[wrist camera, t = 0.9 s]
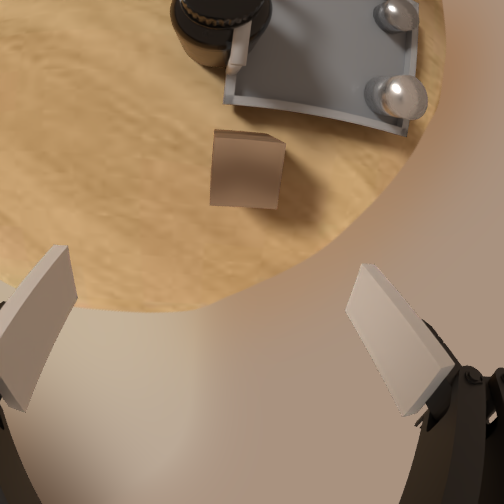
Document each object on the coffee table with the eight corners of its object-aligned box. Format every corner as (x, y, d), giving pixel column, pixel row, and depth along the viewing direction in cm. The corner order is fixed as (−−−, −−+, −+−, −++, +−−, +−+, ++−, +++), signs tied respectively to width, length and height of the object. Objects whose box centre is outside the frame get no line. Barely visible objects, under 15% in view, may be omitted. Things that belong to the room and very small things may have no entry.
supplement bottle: (266, 54, 23) (304, 21, 12) (197, 79, 23) (185, 58, 13) (240, -4, 19) (259, -64, 9) (171, 20, 20) (144, -30, 9)
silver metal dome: (373, -1, 18) (388, -9, 16) (402, 11, 19) (419, 6, 16) (372, 27, 20) (387, 21, 17) (401, 39, 21) (418, 35, 18)
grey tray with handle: (240, -36, 18) (254, -89, 8) (401, 8, 20) (462, -9, 11) (221, 104, 25) (225, 101, 16) (389, 132, 28) (453, 151, 19)
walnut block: (214, 129, 26) (214, 137, 19) (266, 133, 27) (286, 143, 20) (210, 179, 28) (209, 205, 21) (260, 182, 29) (276, 209, 22)
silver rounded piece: (366, 71, 22) (394, 68, 18) (399, 83, 23) (430, 83, 19) (361, 109, 24) (389, 113, 20) (394, 119, 25) (424, 125, 20)
